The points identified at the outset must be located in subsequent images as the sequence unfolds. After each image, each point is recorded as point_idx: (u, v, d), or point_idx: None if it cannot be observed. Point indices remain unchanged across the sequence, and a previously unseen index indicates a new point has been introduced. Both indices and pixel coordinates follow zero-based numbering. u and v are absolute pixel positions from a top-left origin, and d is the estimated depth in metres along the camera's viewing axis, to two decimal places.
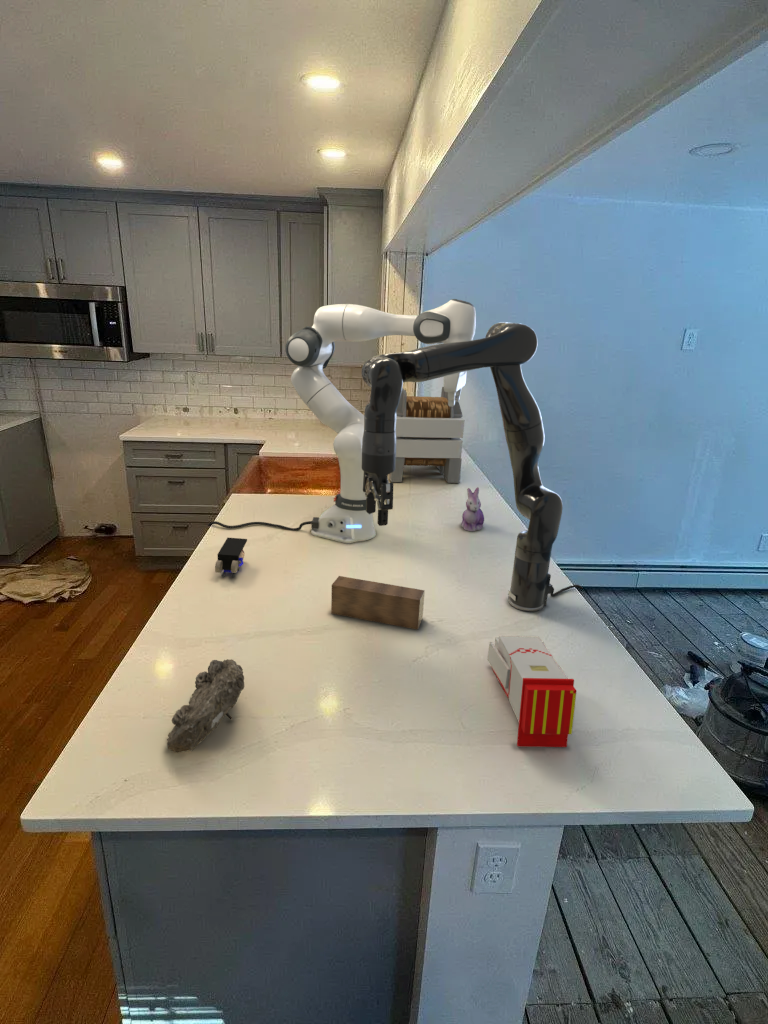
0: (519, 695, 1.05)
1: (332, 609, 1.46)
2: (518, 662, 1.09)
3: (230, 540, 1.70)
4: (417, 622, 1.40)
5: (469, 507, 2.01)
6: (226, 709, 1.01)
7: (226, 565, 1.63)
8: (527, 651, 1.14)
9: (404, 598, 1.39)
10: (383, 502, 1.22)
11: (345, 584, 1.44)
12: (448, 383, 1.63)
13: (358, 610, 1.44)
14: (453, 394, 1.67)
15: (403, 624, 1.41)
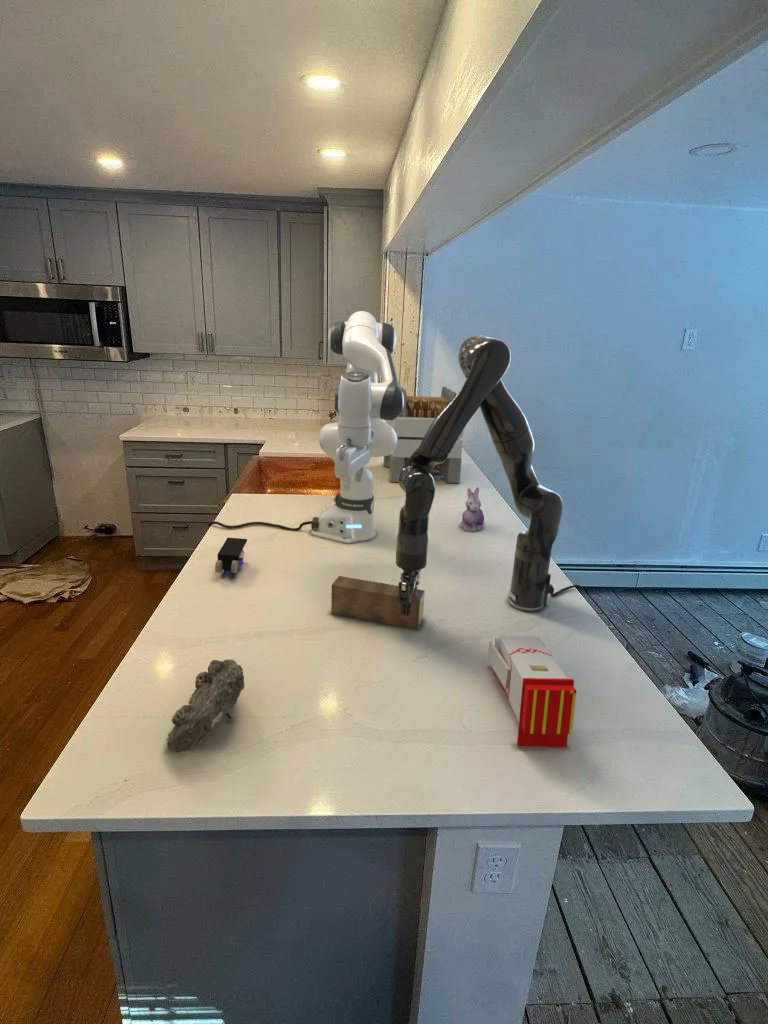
0: (519, 695, 1.05)
1: (332, 609, 1.46)
2: (518, 662, 1.09)
3: (230, 540, 1.70)
4: (417, 622, 1.40)
5: (469, 507, 2.01)
6: (226, 709, 1.01)
7: (226, 565, 1.63)
8: (527, 651, 1.14)
9: None
10: (399, 597, 1.35)
11: (345, 584, 1.44)
12: None
13: (358, 610, 1.44)
14: None
15: (403, 624, 1.41)
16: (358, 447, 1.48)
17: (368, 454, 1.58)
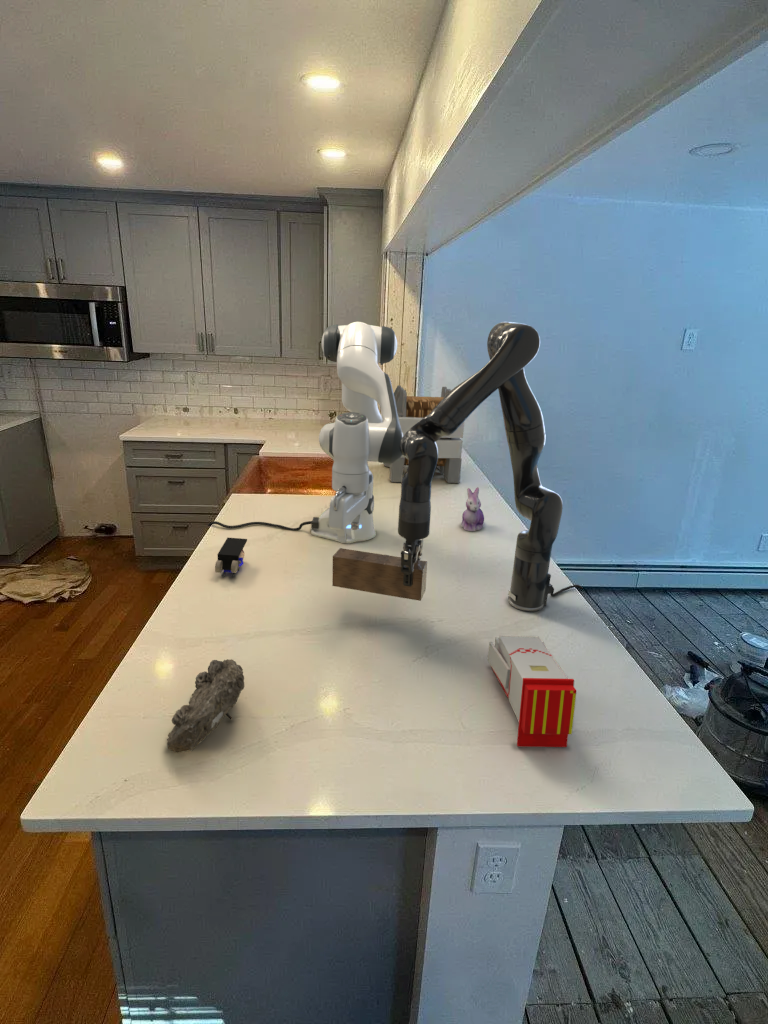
0: (519, 695, 1.05)
1: (333, 581, 1.43)
2: (518, 662, 1.09)
3: (230, 540, 1.70)
4: (420, 593, 1.37)
5: (469, 507, 2.01)
6: (226, 709, 1.01)
7: (226, 565, 1.63)
8: (527, 651, 1.14)
9: None
10: (401, 566, 1.33)
11: (347, 556, 1.41)
12: None
13: (359, 582, 1.41)
14: None
15: (406, 596, 1.39)
16: (354, 494, 1.35)
17: (366, 500, 1.46)
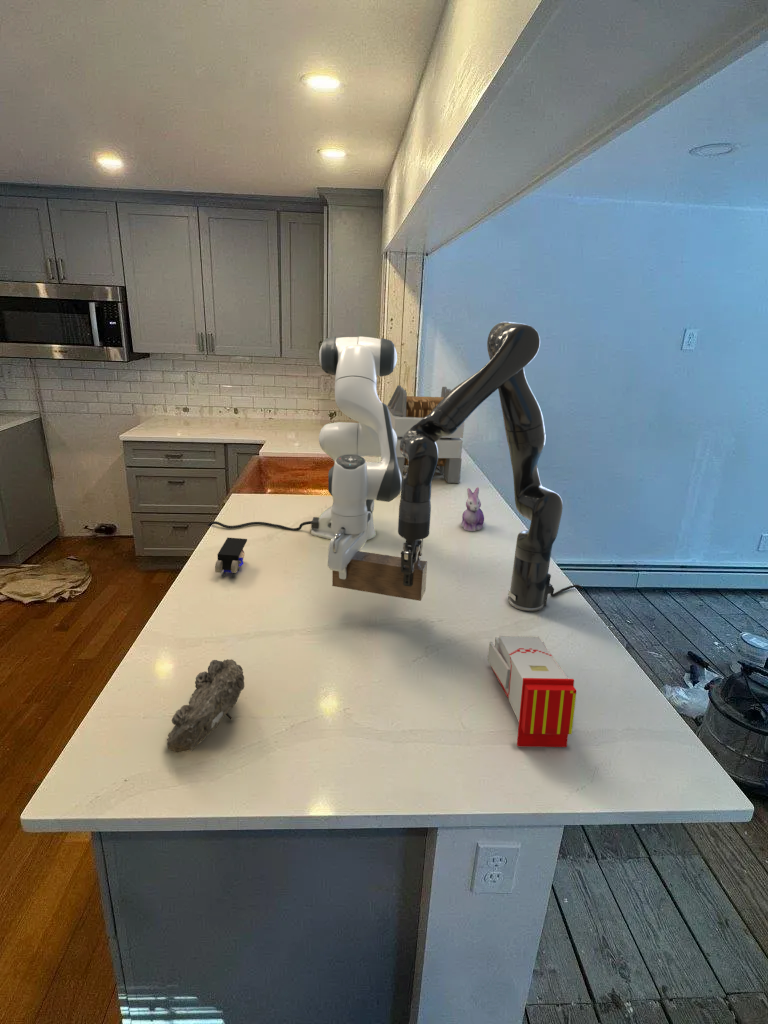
0: (519, 695, 1.05)
1: (333, 581, 1.43)
2: (518, 662, 1.09)
3: (230, 540, 1.70)
4: (420, 593, 1.37)
5: (469, 507, 2.01)
6: (226, 709, 1.01)
7: (226, 565, 1.63)
8: (527, 651, 1.14)
9: None
10: (402, 567, 1.33)
11: None
12: None
13: (359, 582, 1.41)
14: None
15: (406, 596, 1.39)
16: (353, 535, 1.38)
17: (364, 536, 1.48)
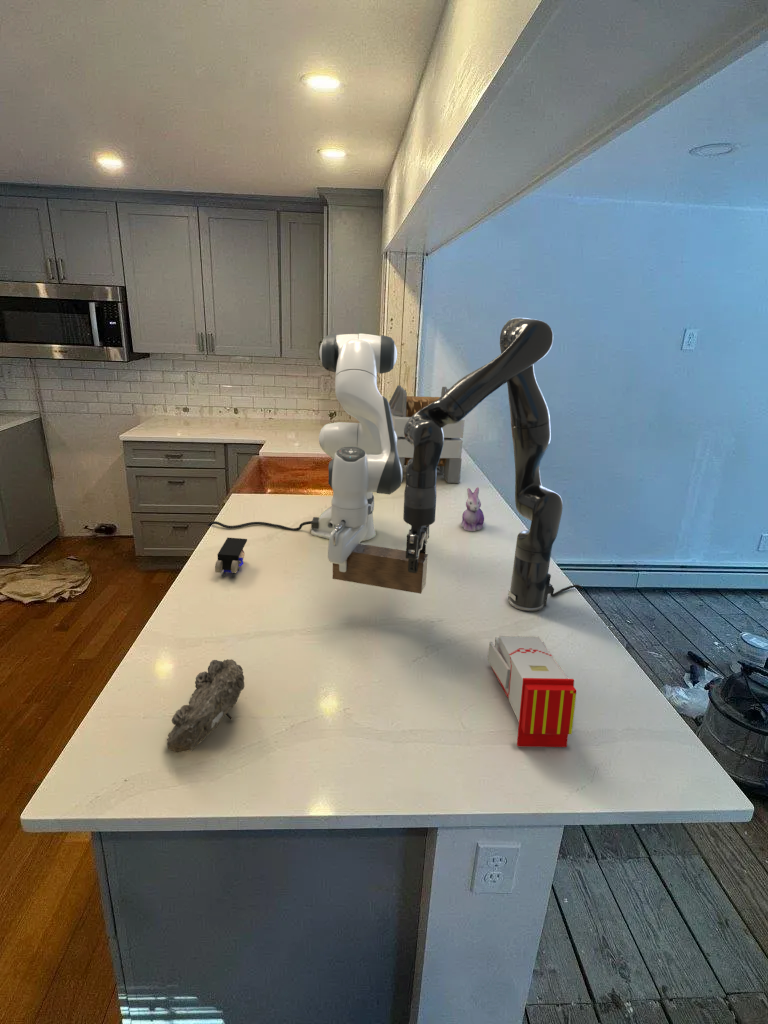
0: (519, 695, 1.05)
1: (333, 574, 1.43)
2: (518, 662, 1.09)
3: (230, 540, 1.70)
4: (420, 586, 1.37)
5: (469, 507, 2.01)
6: (226, 709, 1.01)
7: (226, 565, 1.63)
8: (527, 651, 1.14)
9: (407, 561, 1.36)
10: (406, 551, 1.30)
11: None
12: None
13: (360, 575, 1.41)
14: None
15: (406, 588, 1.38)
16: (353, 527, 1.37)
17: (365, 529, 1.48)
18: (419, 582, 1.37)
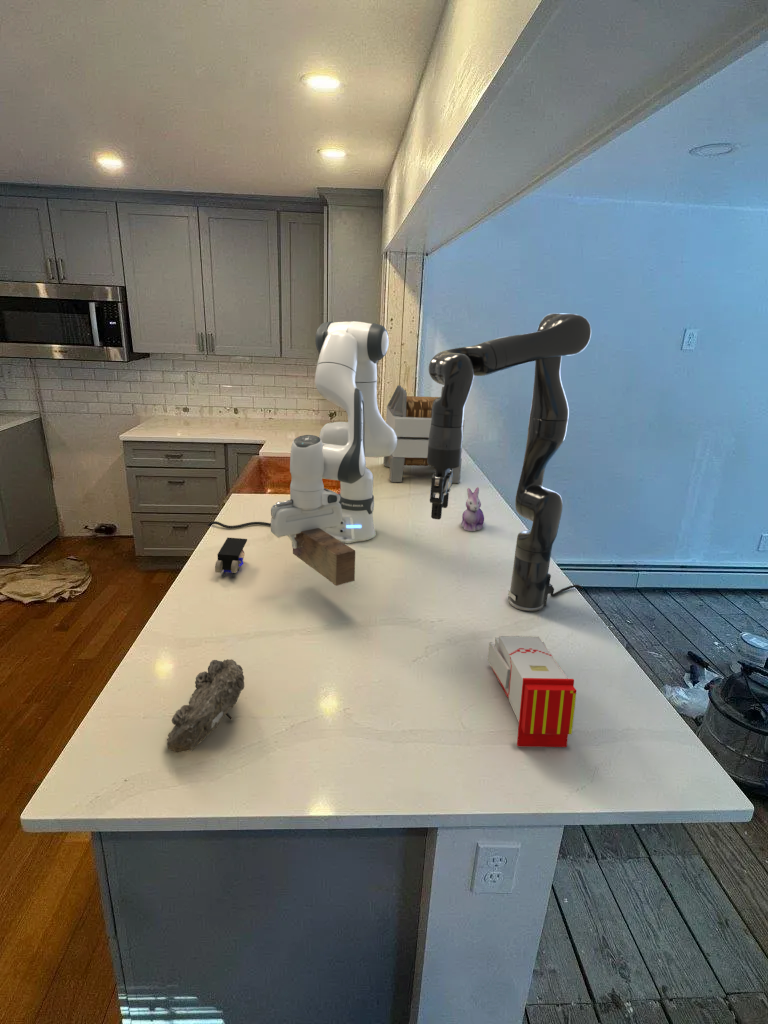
0: (519, 695, 1.05)
1: (293, 549, 1.57)
2: (518, 662, 1.09)
3: (230, 540, 1.70)
4: (335, 578, 1.39)
5: (469, 507, 2.01)
6: (226, 709, 1.01)
7: (226, 565, 1.63)
8: (527, 651, 1.14)
9: (328, 550, 1.40)
10: (431, 494, 1.24)
11: None
12: None
13: (305, 555, 1.51)
14: None
15: (328, 577, 1.42)
16: (302, 509, 1.49)
17: (335, 518, 1.56)
18: (334, 574, 1.39)
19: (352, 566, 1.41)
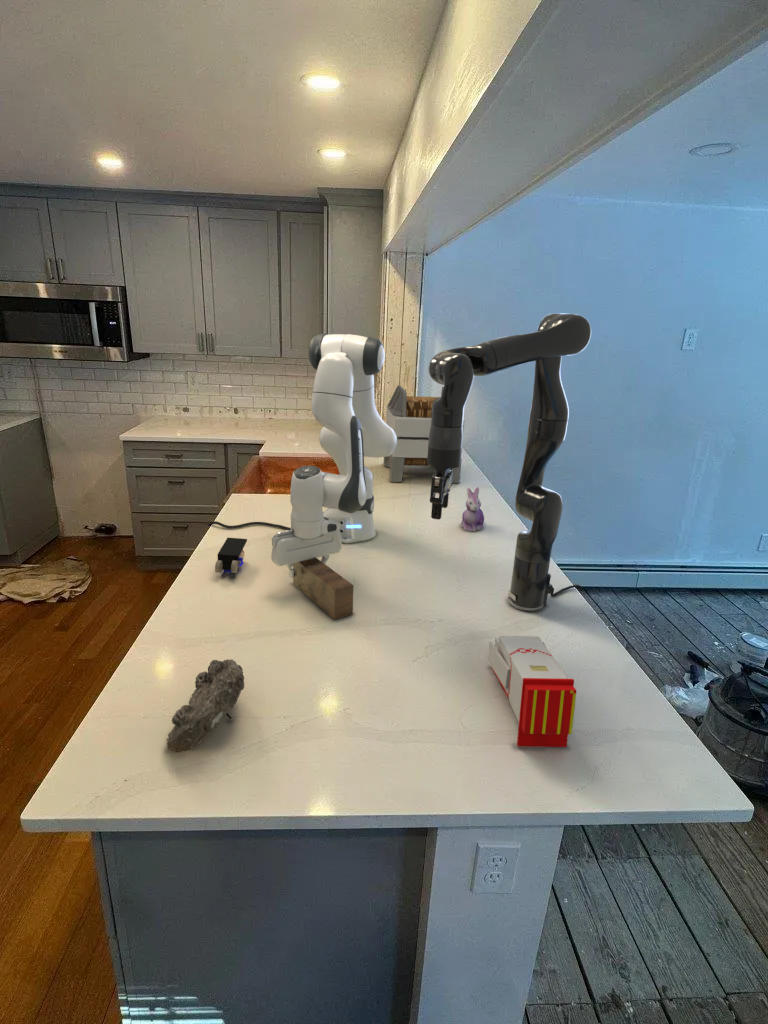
0: (519, 695, 1.05)
1: (293, 579, 1.60)
2: (518, 662, 1.09)
3: (230, 540, 1.70)
4: (334, 612, 1.43)
5: (469, 507, 2.01)
6: (226, 709, 1.01)
7: (226, 565, 1.63)
8: (527, 651, 1.14)
9: (327, 585, 1.44)
10: (431, 494, 1.24)
11: None
12: None
13: (305, 586, 1.55)
14: None
15: (327, 610, 1.46)
16: (303, 538, 1.52)
17: (334, 545, 1.59)
18: (333, 608, 1.43)
19: (350, 600, 1.45)
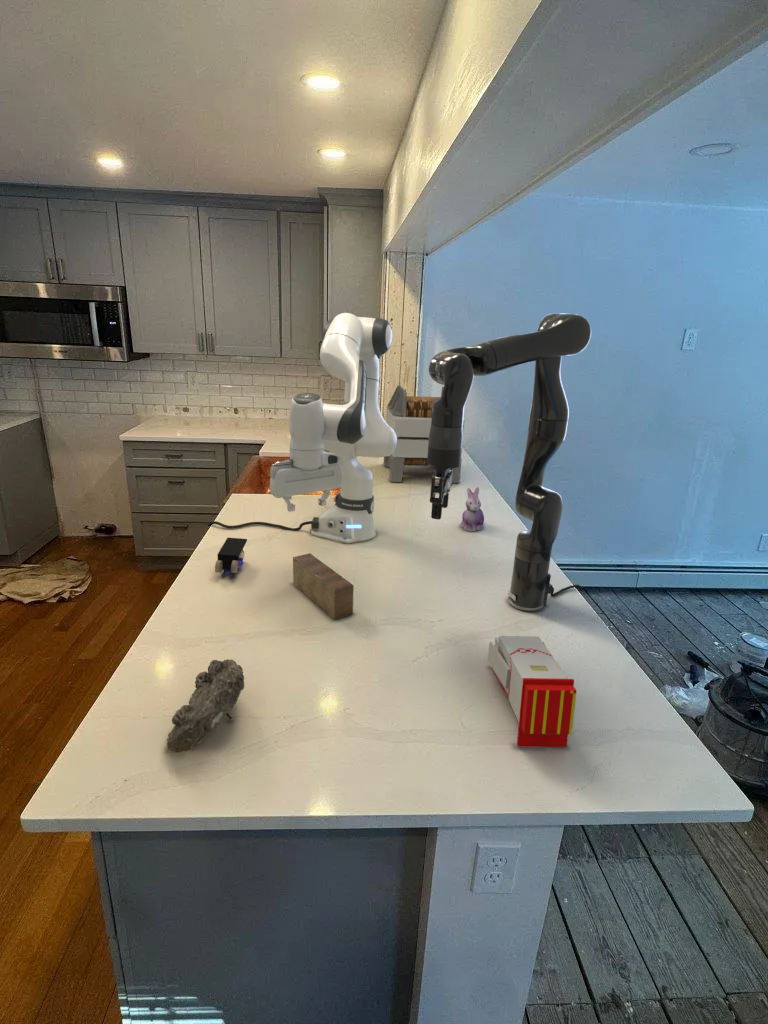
0: (519, 695, 1.05)
1: (293, 579, 1.60)
2: (518, 662, 1.09)
3: (230, 540, 1.70)
4: (334, 612, 1.43)
5: (469, 507, 2.01)
6: (226, 709, 1.01)
7: (226, 565, 1.63)
8: (527, 651, 1.14)
9: (327, 585, 1.44)
10: (431, 494, 1.24)
11: (302, 560, 1.56)
12: None
13: (305, 586, 1.55)
14: None
15: (327, 610, 1.46)
16: (302, 469, 1.45)
17: (335, 480, 1.52)
18: (333, 608, 1.43)
19: (350, 600, 1.45)
